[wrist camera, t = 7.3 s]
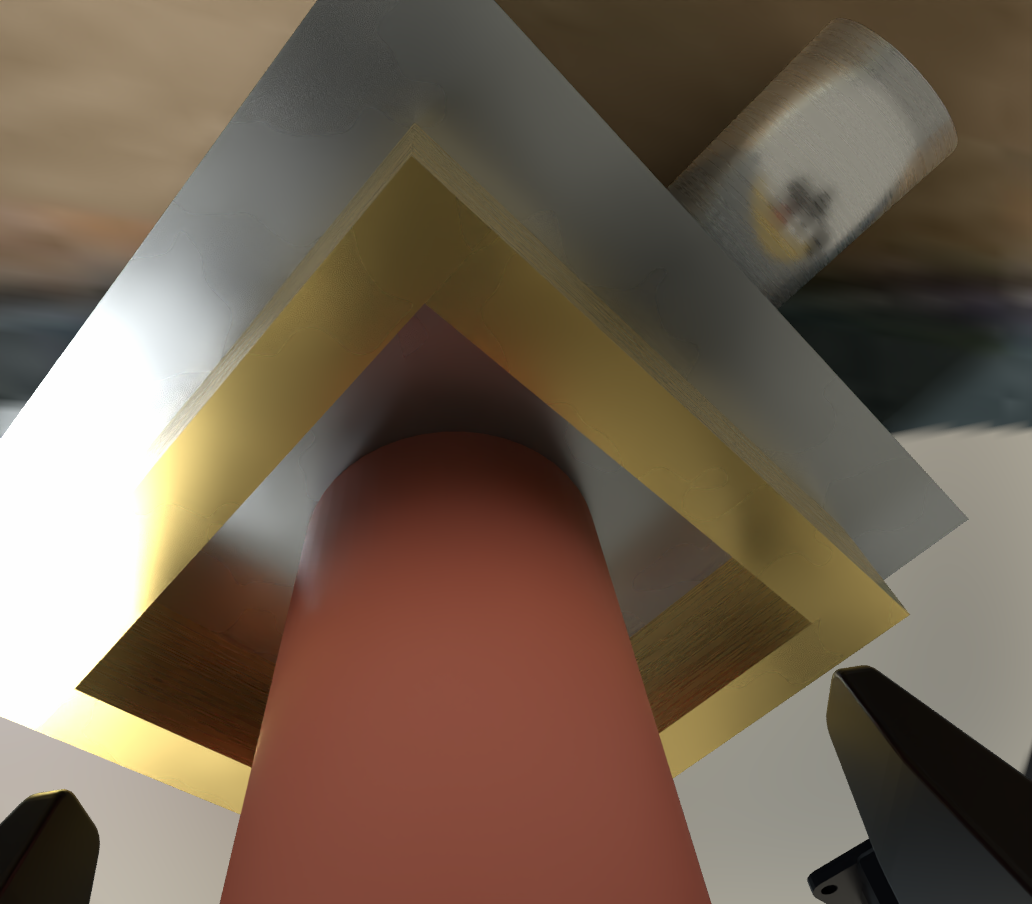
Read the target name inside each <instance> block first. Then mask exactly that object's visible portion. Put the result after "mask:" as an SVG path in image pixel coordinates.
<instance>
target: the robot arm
mask: <svg viewBox="0 0 1032 904" xmlns="http://www.w3.org/2000/svg"><path fill="white" fill-rule="evenodd" d="M826 718H827V719H826V720H827V727H828V731H829V734H830V737H831V740H832V742H833V745H834V748H835V750H836V753H837V756H838V758H839V761H840V763H841V766H842V769H843V771H844V774H845V776H846V779H847V782H848V784H849V787H850V790H851V792H852V795H853V797H854V800H855V802H856V805H857V808H858V810H859V813H860V816H861V818H862V820H863V823H864V826H865V829H866V831H867V834H868V836H869V839H868V840H866V841H864V842H862V843H861V844H859V845H857V846H856V847H854V848H852V849H851V850H849V851H847V852H846V853H844V854H842V855H841V856H839V857H837V858H835V859H834V860H832V861H830V862H829V863H827V864H825V865H824V866H822V867H820V868H819V869H817V870H815V871H814V872H813V873H811V874H810V875H809V877H808V879H807V881H808V884H809V886H810V889H811V891H812V893H813V895H814V896H815V897H816V898H817V899H819V900H821V901H823V902H824V903H826V904H1032V781H1031V780H1030V779H1029V778H1027V777H1026V776H1024V775H1023V774H1022V773H1020V772H1019V771H1017V770H1016V769H1015V768H1013V767H1012V766H1011V765H1009V764H1008V763H1006V762H1005V761H1004V760H1002V759H1001V758H999V757H998V756H997V755H995V754H994V753H992V752H991V751H990V750H988V749H987V748H985V747H984V746H983V745H981V744H980V743H978V742H977V741H976V740H974V739H973V738H971V737H970V736H969V735H967V734H966V733H964V732H963V731H962V730H960V729H959V728H957V727H956V726H955V725H953V724H952V723H951V722H949V721H948V720H946V719H945V718H943V717H942V716H941V715H939V714H938V713H937V712H935V711H934V710H932V709H931V708H929V707H928V706H927V705H925V704H924V703H922V702H921V701H920V700H918V699H917V698H916V697H914V696H913V695H911V694H910V693H909V692H907V691H906V690H904V689H903V688H902V687H900V686H899V685H898V684H896V683H894V682H893V681H892V680H890V679H889V678H888V677H886V676H885V675H883V674H882V673H881V672H879V671H878V670H876V669H875V668H873V667H870V666H867V665H861V666H855V667H849V668H842V669H838V670H836V671H835V672H834V674H833V676H832V680H831V686H830V693H829V700H828V707H827V714H826ZM99 846H100V841H99V834H98V830H97V828H96V826H95V824H94V823H93V822H92V820H91V819H90V817H89V816H88V814H87V813H86V811H85V810H84V808H83V807H82V805H81V804H80V802H79V801H78V799H77V798H76V796H75V795H74V794H73V793H72V792H71V791H68V790H65V789H61V790H55V791H49V792H42V793H37V794H33V795H31V796H29V797H28V798H26V799H25V800H24V801H23V802H22V803H21V804H19V805H18V806H17V807H16V808H15V810H13V811H12V813H10V815H9V816H8V817H7V818H6V819H5V820H4V821H3V822H2V823H1V824H0V904H89V902H90V896H91V891H92V886H93V881H94V875H95V870H96V865H97V859H98V855H99V848H100V847H99Z"/></svg>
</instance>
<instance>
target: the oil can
mask: <svg viewBox="0 0 1032 904" xmlns="http://www.w3.org/2000/svg"><path fill="white" fill-rule="evenodd" d="M220 904H711V901H710V898H709V894H708V891H707V888H706V885H705V882H704V878H703V875H702V872H701V869H700V865H699V862H698V859H697V856H696V852H695V849H694V846H693V843H692V840H691V836H690V833H689V830H688V827H687V823H686V820H685V817H684V813H683V810H682V807H681V805H680V801H679V798H678V794H677V791H676V788H675V784H674V781H673V778H672V775H671V771H670V768H669V765H668V762H667V758H666V755H665V752H664V749H663V745H662V742H661V739H660V736H659V732H658V729H657V726H656V723H655V719H654V716H653V713H652V710H651V706H650V703H649V700H648V697H647V694H646V690H645V687H644V684H643V681H642V677H641V674H640V671H639V668H638V664H637V661H636V658H635V655H634V651H633V648H632V645H631V642H630V638H629V635H628V632H627V629H626V625H625V622H624V619H623V616H622V613H621V609H620V606H619V603H618V600H617V596H616V593H615V590H614V587H613V583H612V580H611V577H610V574H609V570H608V567H607V564H606V561H605V557H604V554H603V551H602V548H601V544H600V541H599V538H598V535H597V531H596V528H595V525H594V522H593V519H592V516H591V513H590V510H589V508H588V505H587V503H586V501H585V499H584V498H583V496H582V494H581V492H580V491H579V489H578V488H577V486H576V485H575V484H574V483H573V482H572V480H571V479H570V478H569V477H568V475H566V474H565V473H564V472H563V471H562V470H561V469H560V468H559V467H558V466H557V465H556V464H554V463H553V462H551V461H550V460H548V459H547V458H546V457H544V456H543V455H541V454H540V453H538V452H536V451H534V450H532V449H530V448H528V447H526V446H524V445H522V444H519V443H516V442H513V441H511V440H508V439H505V438H501V437H497V436H492V435H488V434H483V433H473V432H437V433H428V434H421V435H417V436H413V437H409V438H405V439H401V440H398V441H396V442H393V443H390V444H388V445H385V446H382V447H380V448H378V449H376V450H375V451H373V452H371V453H369V454H367V455H365V456H363V457H362V458H360V459H359V460H358V461H356V462H355V463H353V464H352V465H350V466H349V467H348V468H347V469H346V470H344V471H343V472H342V473H341V474H340V475H339V476H338V477H337V478H336V479H335V480H334V481H333V482H332V483H331V485H330V486H329V487H328V488H327V489H326V491H325V492H324V493H323V495H322V497H321V498H320V500H319V502H318V503H317V505H316V507H315V509H314V511H313V514H312V516H311V519H310V521H309V525H308V529H307V533H306V537H305V542H304V546H303V550H302V555H301V559H300V563H299V567H298V572H297V576H296V580H295V584H294V589H293V593H292V597H291V601H290V606H289V610H288V614H287V619H286V623H285V627H284V631H283V636H282V640H281V644H280V648H279V653H278V657H277V661H276V665H275V670H274V674H273V678H272V683H271V687H270V691H269V695H268V700H267V704H266V708H265V712H264V717H263V721H262V725H261V729H260V734H259V738H258V742H257V747H256V751H255V755H254V759H253V764H252V768H251V772H250V776H249V781H248V785H247V789H246V794H245V798H244V802H243V806H242V811H241V815H240V820H239V823H238V828H237V832H236V836H235V841H234V845H233V849H232V853H231V858H230V862H229V866H228V871H227V875H226V879H225V883H224V887H223V892H222V896H221V900H220Z"/></svg>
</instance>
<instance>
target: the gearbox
mask: <svg viewBox="0 0 1032 904" xmlns="http://www.w3.org/2000/svg"><path fill="white" fill-rule="evenodd" d="M956 147H957V133H956V129H955V126H954V124H953V121H952V119H951V117H950V115H949V113H948V111H947V109H946V107H945V106H944V104H943V102H942V101H941V99H940V98H939V96H938V95H937V93H936V92H935V91H934V89H933V88H932V87H931V85H930V84H929V83H928V82H927V80H926V79H925V78H924V77H923V76H922V74H921V73H920V72H919V71H918V70H917V69H916V68H915V67H914V66H913V65H912V64H911V62H910V61H909V60H908V59H907V58H905V57H904V56H903V55H902V54H901V53H900V52H899V51H898V50H897V49H896V48H895V47H893V46H892V45H891V44H890V43H889V42H887V41H886V40H885V39H883V38H882V37H881V36H879V35H878V34H876V33H875V32H873V31H872V30H870V29H869V28H867V27H865V26H863V25H862V24H859V23H857V22H855V21H852V20H849V19H845V18H836V19H833V20H832V21H831V22H830V23H829V24H828V25H827V26H826V27H825V28H824V29H823V30H822V31H821V32H820V33H819V34H818V35H817V36H816V37H815V38H814V39H813V40H812V41H811V42H810V43H809V44H808V45H807V46H806V47H805V48H804V49H803V50H802V51H801V52H800V53H799V54H798V55H797V56H796V57H795V58H794V59H793V60H792V61H791V62H790V63H789V64H788V65H787V66H786V67H785V68H784V69H783V70H782V71H781V72H780V73H779V74H778V75H777V76H776V77H775V78H774V79H773V81H772V82H771V83H770V84H769V85H768V86H767V87H766V88H765V89H764V90H763V91H762V92H761V93H760V94H759V95H758V96H757V97H756V98H755V99H754V100H753V101H752V102H751V103H750V104H749V105H748V106H747V107H746V108H745V109H744V110H743V111H742V112H741V113H740V114H739V115H738V116H737V117H736V118H735V119H734V120H733V121H732V122H731V123H730V124H729V125H728V126H727V127H726V128H725V129H724V130H723V131H722V132H721V133H720V134H719V135H718V136H717V137H716V139H715V140H714V141H713V142H712V143H711V144H710V145H709V146H708V147H707V148H706V149H705V150H704V151H703V152H702V153H701V154H700V155H699V156H698V157H697V158H696V159H695V160H694V161H693V162H692V163H691V164H690V165H689V166H688V167H687V168H686V169H685V170H684V171H683V172H682V173H681V174H680V175H679V176H678V177H677V178H676V179H675V180H674V181H673V182H672V183H671V184H670V185H669V186H668V187H667V188H665V187H664V186H663V184H662V183H661V182H660V181H659V180H658V179H657V178H656V177H655V176H654V175H653V174H652V172H651V171H650V170H649V169H648V168H647V167H646V166H645V165H644V164H643V163H642V162H641V160H640V159H639V158H638V157H637V156H636V155H635V154H634V153H633V152H632V151H631V150H630V148H629V147H628V146H627V145H626V144H625V143H624V142H623V141H622V140H621V139H620V137H619V136H618V135H617V134H616V133H615V132H614V131H613V130H612V129H611V128H610V127H609V125H608V124H607V123H606V122H605V121H604V120H603V119H602V118H601V117H600V116H599V115H598V113H597V112H596V111H595V110H594V109H593V108H592V107H591V106H590V105H589V104H588V103H587V101H586V100H585V99H584V98H583V97H582V96H581V95H580V94H579V93H578V92H577V91H576V89H575V88H574V87H573V86H572V85H571V84H570V83H569V82H568V81H567V80H566V78H565V77H564V76H563V75H562V74H561V73H560V72H559V71H558V70H557V69H556V68H555V66H554V65H553V64H552V63H551V62H550V61H549V60H548V59H547V58H546V57H545V56H544V54H543V53H542V52H541V51H540V50H539V49H538V48H537V47H536V46H535V45H534V44H533V42H532V41H531V40H530V39H529V38H528V37H527V36H526V35H525V34H524V33H523V31H522V30H521V29H520V28H519V27H518V26H517V25H516V24H515V23H514V22H513V21H512V19H511V18H510V17H509V16H508V15H507V14H506V13H505V12H504V11H503V10H502V9H501V7H500V6H499V5H498V4H497V3H496V2H495V1H494V0H317V1H316V3H315V4H314V6H313V7H312V8H311V10H310V11H309V12H308V14H307V15H306V17H305V18H304V19H303V21H302V22H301V24H300V25H299V26H298V28H297V29H296V30H295V32H294V33H293V35H292V36H291V37H290V39H289V40H288V42H287V43H286V44H285V46H284V47H283V49H282V50H281V51H280V53H279V54H278V55H277V57H276V58H275V60H274V61H273V62H272V64H271V65H270V67H269V68H268V69H267V71H266V72H265V74H264V75H263V76H262V78H261V79H260V80H259V82H258V83H257V85H256V86H255V87H254V89H253V90H252V92H251V93H250V94H249V96H248V97H247V98H246V100H245V101H244V103H243V104H242V105H241V107H240V108H239V110H238V111H237V112H236V114H235V115H234V117H233V118H232V119H231V121H230V122H229V123H228V125H227V126H226V128H225V129H224V130H223V132H222V133H221V135H220V136H219V137H218V139H217V140H216V142H215V143H214V144H213V146H212V147H211V148H210V150H209V151H208V153H207V154H206V155H205V157H204V158H203V160H202V161H201V162H200V164H199V165H198V166H197V168H196V169H195V171H194V172H193V173H192V175H191V176H190V178H189V179H188V180H187V182H186V183H185V185H184V186H183V187H182V189H181V190H180V191H179V193H178V194H177V196H176V197H175V198H174V200H173V201H172V203H171V204H170V205H169V207H168V208H167V210H166V211H165V212H164V214H163V215H162V216H161V218H160V219H159V221H158V222H157V223H156V225H155V226H154V228H153V229H152V230H151V232H150V233H149V234H148V236H147V237H146V239H145V240H144V241H143V243H142V244H141V246H140V247H139V248H138V250H137V251H136V253H135V254H134V255H133V257H132V258H131V259H130V261H129V262H128V264H127V265H126V266H125V268H124V269H123V271H122V272H121V273H120V275H119V276H118V278H117V279H116V280H115V282H114V283H113V284H112V286H111V287H110V289H109V290H108V291H107V293H106V294H105V296H104V297H103V298H102V300H101V301H100V302H99V304H98V305H97V307H96V308H95V309H94V311H93V312H92V314H91V315H90V316H89V318H88V319H87V321H86V322H85V323H84V325H83V326H82V327H81V329H80V330H79V332H78V333H77V334H76V336H75V337H74V339H73V340H72V341H71V343H70V344H69V346H68V347H67V348H66V350H65V351H64V352H63V354H62V355H61V357H60V358H59V359H58V361H57V362H56V364H55V365H54V366H53V368H52V369H51V370H50V372H49V373H48V375H47V376H46V377H45V379H44V380H43V382H42V383H41V384H40V386H39V387H38V389H37V390H36V391H35V393H34V394H33V395H32V397H31V398H30V400H29V401H28V402H27V404H26V405H25V407H24V408H23V409H22V411H21V412H20V414H19V415H18V416H17V418H16V419H15V420H14V422H13V423H12V425H11V426H10V427H9V429H8V430H7V432H6V433H5V434H4V436H3V437H2V438H1V440H0V716H2V717H4V718H7V719H9V720H12V721H14V722H17V723H19V724H21V725H24V726H26V727H29V728H31V729H34V730H36V731H38V732H41V733H43V734H46V735H48V736H51V737H53V738H56V739H58V740H60V741H63V742H65V743H68V744H70V745H73V746H75V747H78V748H80V749H82V750H85V751H87V752H90V753H93V754H94V755H97V756H99V757H102V758H104V759H107V760H109V761H111V762H114V763H116V764H119V765H121V766H124V767H126V768H129V769H131V770H134V771H136V772H138V773H141V774H143V775H146V776H148V777H150V778H153V779H155V780H158V781H160V782H163V783H165V784H167V785H170V786H172V787H175V788H177V789H180V790H182V791H184V792H187V793H189V794H192V795H194V796H197V797H199V798H202V799H204V800H206V801H209V802H211V803H214V804H216V805H219V806H221V807H223V808H226V809H228V810H231V811H233V812H236V813H238V814H240V815H241V811H242V806H243V802H244V798H245V794H246V789H247V785H248V781H249V776H250V772H251V768H252V764H253V759H254V755H255V751H256V747H257V742H258V738H259V734H260V729H261V725H262V721H263V717H264V712H265V708H266V704H267V700H268V695H269V691H270V687H271V683H272V678H273V674H274V670H275V665H276V661H277V657H278V653H279V648H280V644H281V640H282V636H283V631H284V627H285V623H286V619H287V614H288V610H289V606H290V601H291V597H292V593H293V589H294V584H295V580H296V576H297V572H298V567H299V563H300V559H301V555H302V550H303V546H304V542H305V537H306V533H307V529H308V525H309V521H310V519H311V516H312V514H313V511H314V509H315V507H316V505H317V503H318V502H319V500H320V498H321V497H322V495H323V493H324V492H325V491H326V489H327V488H328V487H329V486H330V485H331V483H332V482H333V481H334V480H335V479H336V478H337V477H338V476H339V475H340V474H341V473H342V472H343V471H344V470H346V469H347V468H348V467H349V466H350V465H352V464H353V463H355V462H356V461H358V460H359V459H360V458H362V457H363V456H365V455H367V454H369V453H371V452H373V451H375V450H376V449H378V448H380V447H382V446H385V445H388V444H390V443H393V442H396V441H398V440H401V439H405V438H409V437H413V436H417V435H421V434H428V433H437V432H473V433H483V434H488V435H492V436H497V437H501V438H505V439H508V440H511V441H513V442H516V443H519V444H522V445H524V446H526V447H528V448H530V449H532V450H534V451H536V452H538V453H540V454H541V455H543V456H544V457H546V458H547V459H548V460H550V461H551V462H553V463H554V464H556V465H557V466H558V467H559V468H560V469H561V470H562V471H563V472H564V473H565V474H566V475H568V477H569V478H570V479H571V480H572V482H573V483H574V484H575V485H576V486H577V488H578V489H579V491H580V492H581V494H582V496H583V498H584V499H585V501H586V503H587V505H588V508H589V510H590V513H591V516H592V519H593V522H594V525H595V528H596V531H597V535H598V538H599V541H600V544H601V548H602V551H603V554H604V557H605V561H606V564H607V567H608V570H609V574H610V577H611V580H612V583H613V587H614V590H615V593H616V596H617V600H618V603H619V606H620V609H621V613H622V616H623V619H624V622H625V625H626V629H627V632H628V635H629V638H630V642H631V645H632V648H633V651H634V655H635V658H636V661H637V664H638V668H639V671H640V674H641V677H642V681H643V684H644V687H645V690H646V694H647V697H648V700H649V703H650V706H651V710H652V713H653V716H654V719H655V723H656V726H657V729H658V732H659V736H660V739H661V742H662V745H663V749H664V752H665V755H666V758H667V762H668V765H669V768H670V771H671V775H672V778H674V777H676V776H677V775H679V774H680V773H681V772H683V771H684V770H686V769H687V768H688V767H690V766H692V765H693V764H694V763H696V762H697V761H699V760H700V759H702V758H703V757H705V756H706V755H707V754H709V753H710V752H712V751H713V750H715V749H716V748H718V747H719V746H721V745H722V744H723V743H725V742H726V741H728V740H729V739H731V738H732V737H734V736H735V735H736V734H738V733H739V732H741V731H742V730H744V729H745V728H747V727H748V726H750V725H751V724H752V723H754V722H755V721H757V720H758V719H760V718H761V717H763V716H764V715H765V714H767V713H768V712H770V711H771V710H773V709H774V708H775V707H777V706H778V705H780V704H781V703H783V702H784V701H786V700H787V699H789V698H790V697H792V696H793V695H794V694H796V693H797V692H799V691H800V690H802V689H803V688H805V687H806V686H807V685H809V684H810V683H812V682H813V681H815V680H816V679H818V678H819V677H820V676H822V675H823V674H825V673H826V672H828V671H829V670H831V669H832V668H833V667H835V666H836V665H838V664H839V663H841V662H842V661H844V660H845V659H846V658H848V657H849V656H851V655H852V654H854V653H855V652H857V651H858V650H860V649H861V648H863V647H864V646H865V645H867V644H868V643H870V642H871V641H873V640H874V639H875V638H877V637H878V636H880V635H881V634H883V633H884V632H886V631H887V630H889V629H890V628H891V627H893V626H894V625H896V624H897V623H899V622H900V621H901V620H903V619H904V618H906V617H907V616H909V615H910V614H909V613H908V612H907V610H906V609H905V608H904V606H903V605H902V604H901V602H900V601H899V600H898V599H897V597H896V596H895V595H894V593H893V592H892V591H891V589H890V588H889V587H888V586H887V584H886V583H885V582H884V579H886V578H887V577H888V576H890V575H891V574H893V573H894V572H896V571H897V570H898V569H900V568H901V567H903V566H904V565H905V564H907V563H908V562H909V561H911V560H912V559H914V558H915V557H916V556H918V555H919V554H920V553H922V552H924V551H925V550H926V549H928V548H929V547H931V546H932V545H933V544H935V543H936V542H937V541H939V540H940V539H942V538H943V537H944V536H946V535H947V534H949V533H950V532H951V531H953V530H954V529H955V528H957V527H958V526H960V525H961V524H963V523H964V522H965V521H967V520H968V518H967V517H966V516H965V514H964V513H963V512H962V511H961V510H960V509H959V508H958V507H957V506H956V505H955V504H954V502H953V501H952V500H951V499H950V498H949V497H948V496H947V495H946V494H945V493H944V492H943V490H942V489H941V488H940V487H939V486H938V485H937V484H936V483H935V482H934V481H933V480H932V478H931V477H930V476H929V475H928V474H927V473H926V472H925V471H924V470H923V469H922V467H921V466H920V465H919V464H918V463H917V462H916V461H915V460H914V459H913V458H912V457H911V455H909V453H908V452H907V451H906V450H905V449H904V448H903V447H902V446H901V445H900V443H899V442H898V441H897V440H896V439H895V438H894V437H893V436H892V435H891V434H890V432H889V431H888V430H887V429H886V428H885V427H884V426H883V425H882V424H881V423H880V422H879V420H878V419H877V418H876V417H875V416H874V415H873V414H872V413H871V412H870V411H869V410H868V408H867V407H866V406H865V405H864V404H863V403H862V402H861V401H860V400H859V399H858V398H857V396H856V395H855V394H854V393H853V392H852V391H851V390H850V389H849V388H848V387H847V386H846V384H845V383H844V382H843V381H842V380H841V379H840V378H839V377H838V376H837V375H836V373H835V372H834V371H833V370H832V369H831V368H830V367H829V366H828V365H827V364H826V363H825V361H824V360H823V359H822V358H821V357H820V356H819V355H818V354H817V353H816V352H815V351H814V349H813V348H812V347H811V346H810V345H809V344H808V343H807V342H806V341H805V340H804V339H803V337H802V336H801V335H800V334H799V333H798V332H797V331H796V330H795V329H794V328H793V327H792V325H791V324H790V323H789V322H788V321H787V320H786V319H785V318H784V317H783V316H782V314H781V313H780V312H779V311H778V310H777V309H778V308H779V307H780V306H782V305H783V304H784V303H785V302H786V301H787V300H788V299H789V298H790V297H792V296H793V295H794V294H795V293H796V292H797V291H798V290H799V289H801V288H802V287H803V286H804V285H805V284H806V283H807V282H808V281H809V280H811V279H812V278H813V277H814V276H815V275H816V274H817V273H818V272H819V271H821V270H822V269H823V268H824V267H825V266H826V265H827V264H828V263H830V262H831V261H832V260H833V259H834V258H835V257H836V256H837V255H838V254H840V253H841V252H842V251H843V250H844V249H845V248H846V247H847V246H848V245H850V244H851V243H852V242H853V241H854V240H855V239H856V238H857V237H859V236H860V235H861V234H862V233H863V232H864V231H865V230H866V229H867V228H869V227H870V226H871V225H872V224H873V223H874V222H875V221H876V220H877V219H879V218H880V217H881V216H882V215H883V214H884V213H885V212H886V211H888V210H889V209H890V208H891V207H892V206H893V205H894V204H895V203H896V202H898V201H899V200H900V199H901V198H902V197H903V196H904V195H905V194H907V193H908V192H909V191H910V190H911V189H912V188H913V187H914V186H915V185H917V184H918V183H919V182H920V181H921V180H922V179H923V178H924V177H925V176H927V175H928V174H929V173H930V172H931V171H932V170H933V169H934V168H936V167H937V166H938V165H939V164H940V163H941V162H942V161H943V160H944V159H946V158H947V157H948V156H949V155H950V154H951V153H952V152H953V151H954V150H955V149H956Z"/></svg>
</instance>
